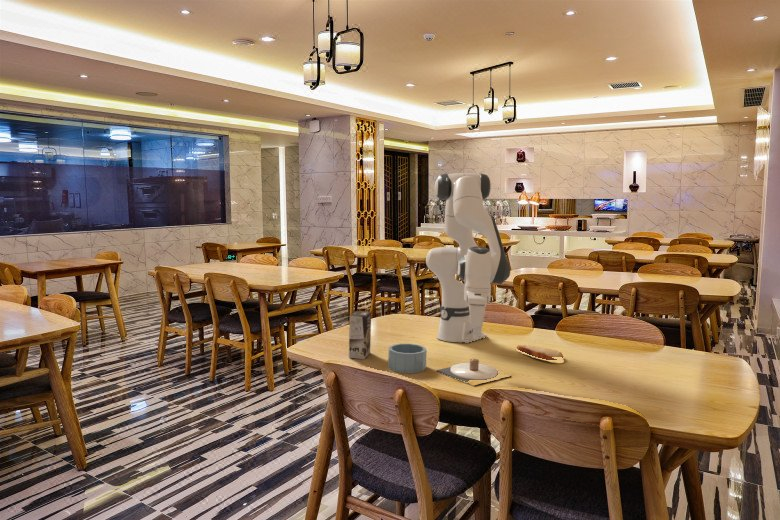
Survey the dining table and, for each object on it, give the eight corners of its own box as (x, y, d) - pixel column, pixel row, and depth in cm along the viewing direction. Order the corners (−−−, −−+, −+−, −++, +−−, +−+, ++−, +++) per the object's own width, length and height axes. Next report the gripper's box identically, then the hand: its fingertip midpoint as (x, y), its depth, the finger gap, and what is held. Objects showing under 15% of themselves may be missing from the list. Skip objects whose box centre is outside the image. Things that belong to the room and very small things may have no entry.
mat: (473, 363, 202) (473, 361, 202) (511, 376, 188) (511, 375, 188) (436, 371, 192) (436, 370, 192) (473, 386, 177) (473, 385, 177)
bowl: (409, 360, 204) (410, 341, 204) (432, 369, 194) (433, 350, 193) (381, 366, 197) (381, 346, 196) (403, 376, 186) (404, 355, 186)
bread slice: (515, 348, 225) (515, 339, 224) (561, 352, 221) (562, 343, 220) (515, 361, 207) (515, 351, 207) (565, 366, 203) (565, 356, 203)
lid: (473, 363, 201) (474, 350, 201) (507, 375, 188) (508, 362, 188) (440, 370, 191) (441, 357, 191) (474, 383, 179) (474, 370, 178)
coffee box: (365, 359, 203) (366, 316, 202) (348, 358, 205) (349, 315, 203) (370, 352, 212) (371, 311, 210) (354, 351, 214) (355, 310, 212)
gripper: (468, 290, 197) (466, 328, 199) (467, 299, 177) (465, 342, 179) (486, 291, 196) (484, 329, 198) (487, 300, 176) (485, 343, 178)
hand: (475, 335), depth 188 cm, fingers open, 8 cm apart
